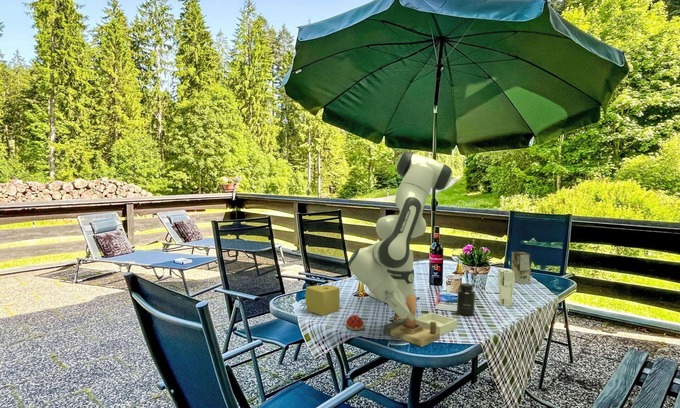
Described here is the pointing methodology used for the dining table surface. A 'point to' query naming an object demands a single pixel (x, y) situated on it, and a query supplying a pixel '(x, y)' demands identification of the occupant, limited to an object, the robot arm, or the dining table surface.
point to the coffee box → (521, 267)
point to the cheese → (322, 299)
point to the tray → (437, 322)
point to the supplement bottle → (466, 300)
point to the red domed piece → (354, 323)
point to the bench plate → (412, 332)
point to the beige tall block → (506, 286)
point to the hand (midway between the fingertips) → (412, 316)
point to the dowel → (412, 308)
